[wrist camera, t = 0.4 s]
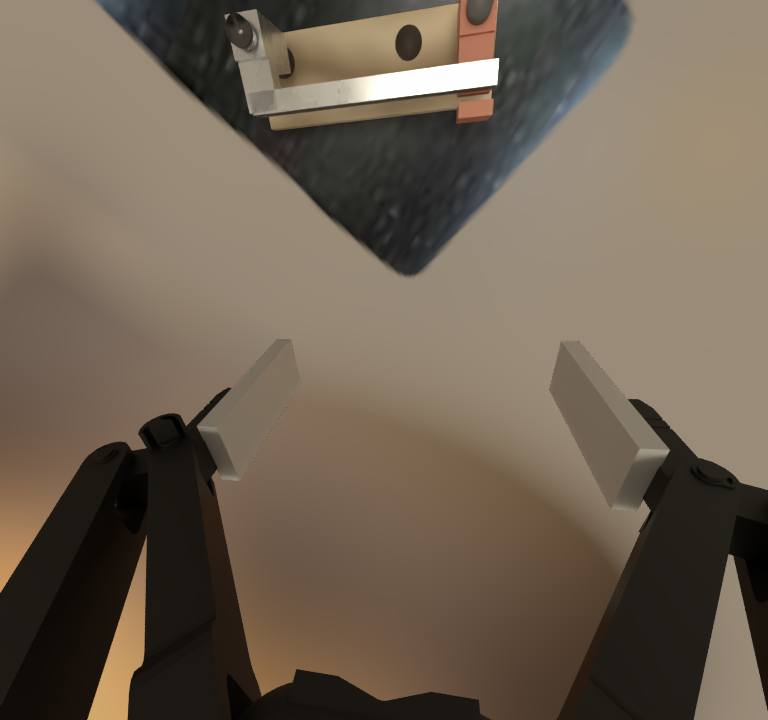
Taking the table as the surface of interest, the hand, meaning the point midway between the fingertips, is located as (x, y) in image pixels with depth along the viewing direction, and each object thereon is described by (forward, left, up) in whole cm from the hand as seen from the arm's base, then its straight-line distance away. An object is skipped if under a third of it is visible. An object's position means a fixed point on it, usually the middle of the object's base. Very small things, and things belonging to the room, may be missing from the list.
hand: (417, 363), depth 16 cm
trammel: (-17, -5, -25) cm, 30 cm away
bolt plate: (-17, -5, -26) cm, 32 cm away
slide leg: (-16, +4, -25) cm, 30 cm away
